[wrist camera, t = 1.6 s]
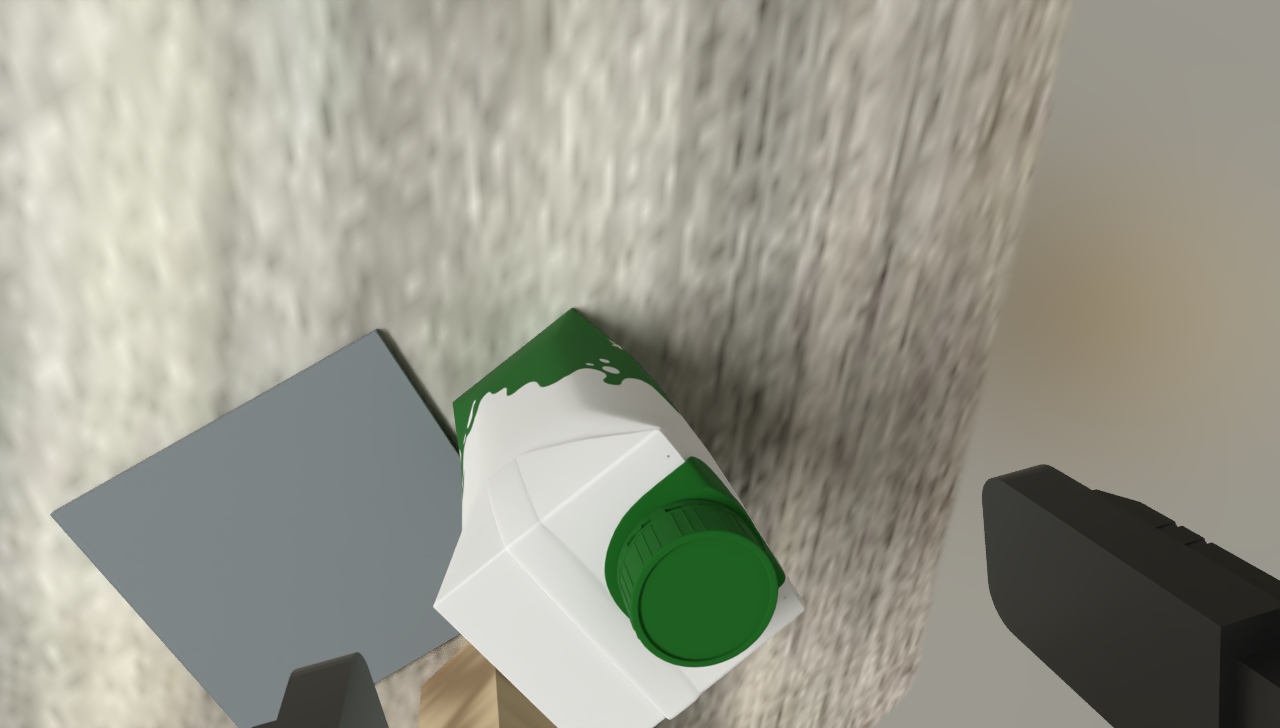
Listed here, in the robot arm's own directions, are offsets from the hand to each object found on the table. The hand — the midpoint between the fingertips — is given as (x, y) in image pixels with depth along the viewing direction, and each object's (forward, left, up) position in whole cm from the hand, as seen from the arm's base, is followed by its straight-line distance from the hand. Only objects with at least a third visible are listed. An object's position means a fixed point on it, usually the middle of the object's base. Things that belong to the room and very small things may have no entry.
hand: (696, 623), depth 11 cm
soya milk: (+2, +7, -30) cm, 31 cm away
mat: (+15, +7, -30) cm, 34 cm away
